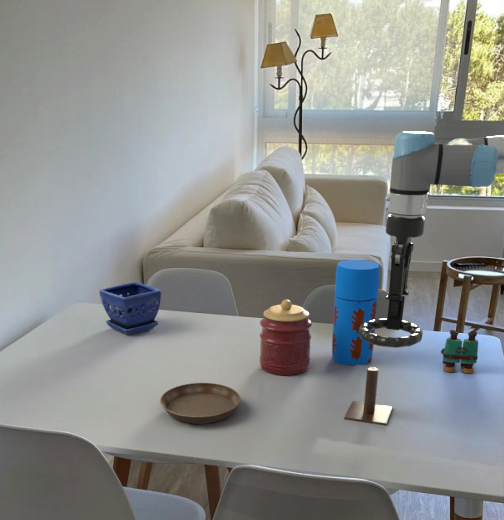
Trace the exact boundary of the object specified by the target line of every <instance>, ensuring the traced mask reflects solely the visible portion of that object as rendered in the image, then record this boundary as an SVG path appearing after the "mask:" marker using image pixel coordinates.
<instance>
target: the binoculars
mask: <svg viewBox="0 0 504 520" xmlns="http://www.w3.org/2000/svg"><path fill="white" fill-rule="evenodd" d="M449 335H450V337H447V338H446V340H445V345H444V346H445V347H444V348H442V349H440V350H441V351H440V354H441V355H442V364H444V365H443V371H445V372H447V373H453V372H455V371H456V364H460V367H461V368H462V373H465V374H473V373H474V365H475V364H477V362H478V358H479V357H478V354H479V353H478V351H479V340H478V339H476V337H477V336H478V331H476V330H473V331H469V332H468V333H467V336H468V338H464V339H463V340H462V339H461V338H458V335H459V331H457V330H454V329H450V330H449Z"/></svg>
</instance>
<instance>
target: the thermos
mask: <svg viewBox="0 0 504 520" xmlns="http://www.w3.org/2000/svg"><path fill="white" fill-rule="evenodd" d="M380 269H381V268H380V264H379V263H378V262H375V261H371V260H365V259H346V260H341V261H339V262H337V264H336V269H335V286H334V304H333V319H332V320H333V322H332V339H331V358H332V360H333V361H334V362H336V363H337V364H340V365H346V366H363V365H367V364H369V363H370V362H372V359H373V351H374V346H375V345H374V344H372V343H369V342H366V341H365V340H364V339H363V338H361V337H360V336H359V334H358V331H359V328H360V326H361V324H363V323H365V322H368V321H371V320H375V319H377V309H378V308H377V307H378V300H379V299H378V297H379V287H380V275H381V274H380ZM369 332H371V333H373V334H376V329H373V330H371V331H369Z"/></svg>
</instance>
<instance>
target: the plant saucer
mask: <svg viewBox="0 0 504 520" xmlns="http://www.w3.org/2000/svg"><path fill="white" fill-rule="evenodd" d="M240 402H241V396H240V394H239V393H238V391H237V390H235V389H234V388H231V387H230V386H227V385H225V384H224V385H223V384H219V383H212V382H193V383H186V384H181V385H177V386H175V387H172V388H170V389H168V390H166V391H164V393H163V394H162V395H161V397H160V398H159V403H160V406H161V407H162V408H163V410H164V411H165V412H166V413H167V414H168V415H169V416H171V417H172V418H173V419H175V420H177V421H179V422H182V423H188V424H196V425H197V424H199V425H202V424H211V423H216V422H219V421H222V420H224V419H225V418H227V417H229V416H230V415H231V414H233V412H234V411H235V410H236V409H237V408H238V406H239V404H240Z"/></svg>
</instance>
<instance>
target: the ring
mask: <svg viewBox="0 0 504 520" xmlns="http://www.w3.org/2000/svg"><path fill="white" fill-rule="evenodd" d="M386 327H387V318H378V319H377V318H376V319H375V320H371V321H368V322H365V323H363V324H361V326H360V328H359V331H358V334H359V336H360V337H361V338H363V339H364V340H365V341H366V342H369V343H372V344H374V346H377V347H384V348H385V347H386V348H392V349H393V348H394V349H398V348H408V347H411V346H415V345H416V344H418V343H421V341H422V340H423V334H424V332H423V330H422V328H420V327H419V326H417V325H416V324H415V323H412V322H409V321H406V320H403V319H402V320H401V321H400V330H399V331H402V332H407V333H409V334H410V335H408V336H398V337H393V336H381V335H379V334H377V333H375V334H373V333H371V332H369V331H371V330H373V329H375V330H377V329H378V330H379V329H386Z"/></svg>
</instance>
